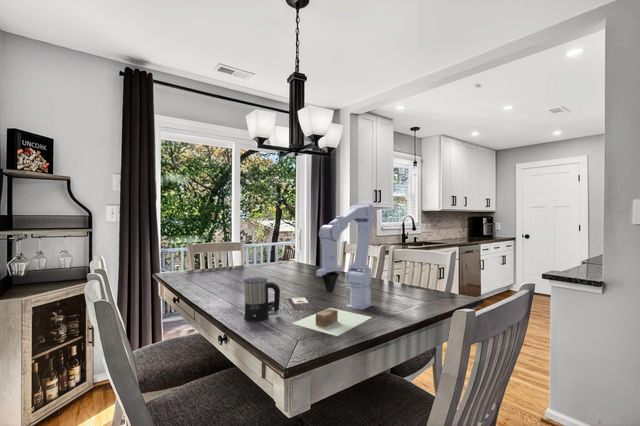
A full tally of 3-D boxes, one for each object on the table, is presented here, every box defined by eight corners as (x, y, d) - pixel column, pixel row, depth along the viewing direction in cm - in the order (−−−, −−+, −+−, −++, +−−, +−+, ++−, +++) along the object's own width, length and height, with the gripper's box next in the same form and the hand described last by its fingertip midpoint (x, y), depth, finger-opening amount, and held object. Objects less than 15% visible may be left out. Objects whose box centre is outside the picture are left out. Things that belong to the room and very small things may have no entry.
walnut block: (328, 308, 123) (315, 313, 117) (337, 310, 121) (324, 315, 114) (328, 319, 123) (315, 325, 117) (337, 321, 121) (324, 327, 114)
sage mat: (329, 308, 137) (329, 307, 137) (372, 318, 125) (372, 317, 125) (291, 324, 118) (291, 323, 118) (337, 337, 106) (337, 336, 106)
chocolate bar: (295, 309, 134) (288, 298, 152) (295, 312, 134) (288, 300, 152) (316, 308, 137) (307, 297, 154) (316, 310, 137) (307, 299, 154)
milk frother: (245, 322, 120) (245, 282, 120) (240, 310, 135) (240, 274, 135) (283, 318, 125) (283, 279, 125) (274, 307, 140) (274, 272, 140)
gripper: (327, 259, 116) (327, 297, 116) (348, 255, 128) (348, 289, 128) (311, 258, 120) (311, 294, 120) (333, 253, 132) (333, 287, 132)
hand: (329, 292), depth 124 cm, fingers closed
